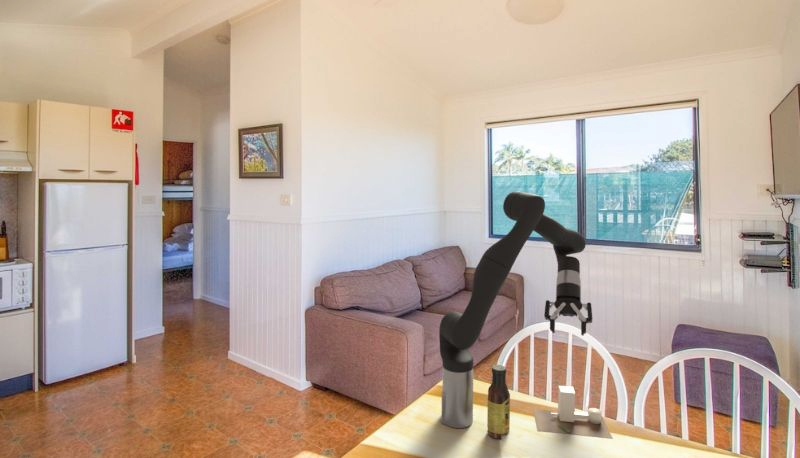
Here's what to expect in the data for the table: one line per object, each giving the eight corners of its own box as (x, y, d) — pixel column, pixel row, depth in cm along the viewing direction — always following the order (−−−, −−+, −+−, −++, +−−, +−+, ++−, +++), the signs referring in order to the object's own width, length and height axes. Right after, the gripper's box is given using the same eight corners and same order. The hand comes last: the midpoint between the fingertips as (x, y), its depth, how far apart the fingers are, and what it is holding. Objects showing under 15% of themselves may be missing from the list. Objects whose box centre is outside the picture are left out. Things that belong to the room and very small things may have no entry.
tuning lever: (599, 417, 130) (600, 389, 129) (602, 424, 126) (604, 395, 125) (550, 412, 133) (551, 385, 131) (552, 420, 129) (553, 391, 128)
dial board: (537, 435, 124) (537, 430, 124) (533, 413, 136) (533, 408, 135) (612, 443, 120) (612, 437, 120) (601, 419, 132) (601, 414, 132)
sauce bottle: (509, 441, 121) (511, 374, 119) (487, 439, 123) (488, 372, 120) (508, 428, 128) (510, 364, 125) (487, 426, 129) (488, 362, 127)
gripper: (545, 280, 144) (543, 327, 136) (591, 282, 138) (592, 331, 130) (546, 290, 150) (544, 335, 141) (591, 292, 144) (592, 339, 136)
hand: (567, 333), depth 136 cm, fingers open, 8 cm apart
